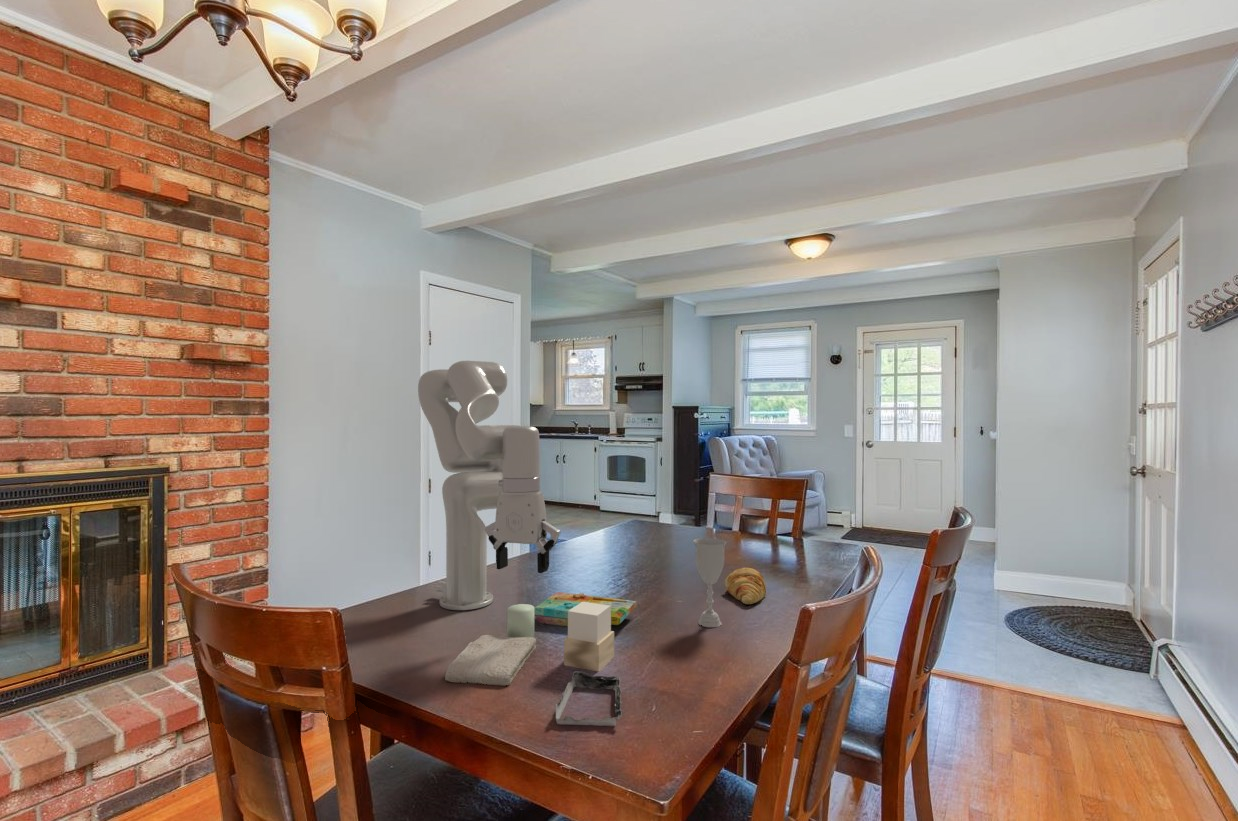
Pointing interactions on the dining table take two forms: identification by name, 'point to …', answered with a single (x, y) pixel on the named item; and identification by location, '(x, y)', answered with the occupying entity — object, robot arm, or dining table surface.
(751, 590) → the croissant
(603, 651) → the oak base block
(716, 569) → the chalice
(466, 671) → the washcloth
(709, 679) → the dining table surface
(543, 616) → the puzzle game
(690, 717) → the dining table surface
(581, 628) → the cream middle block
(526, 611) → the sage round block
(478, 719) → the dining table surface
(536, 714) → the dining table surface
